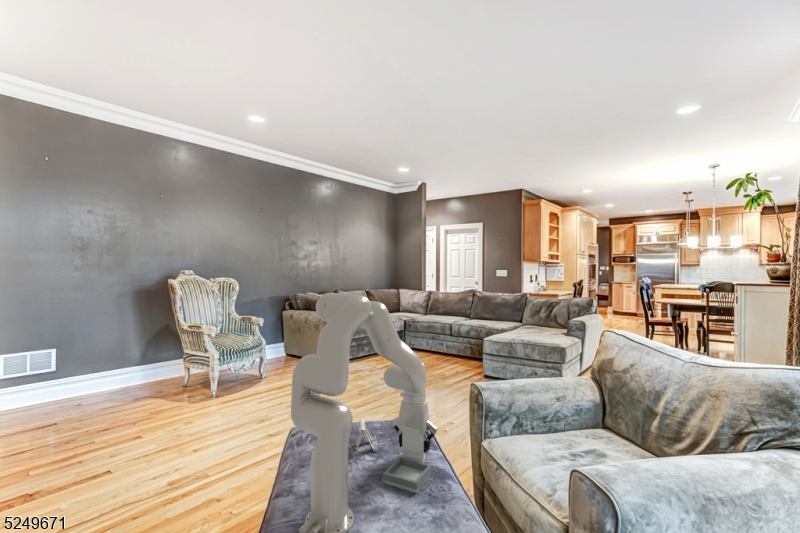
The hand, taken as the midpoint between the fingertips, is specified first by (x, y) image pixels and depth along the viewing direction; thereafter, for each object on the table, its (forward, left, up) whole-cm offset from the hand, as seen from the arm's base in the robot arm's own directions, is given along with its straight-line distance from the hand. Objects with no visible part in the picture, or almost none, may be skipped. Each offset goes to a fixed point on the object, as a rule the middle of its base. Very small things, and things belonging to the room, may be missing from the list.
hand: (414, 448), depth 130 cm
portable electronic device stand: (+1, +20, -5) cm, 21 cm away
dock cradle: (-11, -3, -4) cm, 12 cm away
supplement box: (0, 0, -5) cm, 5 cm away
